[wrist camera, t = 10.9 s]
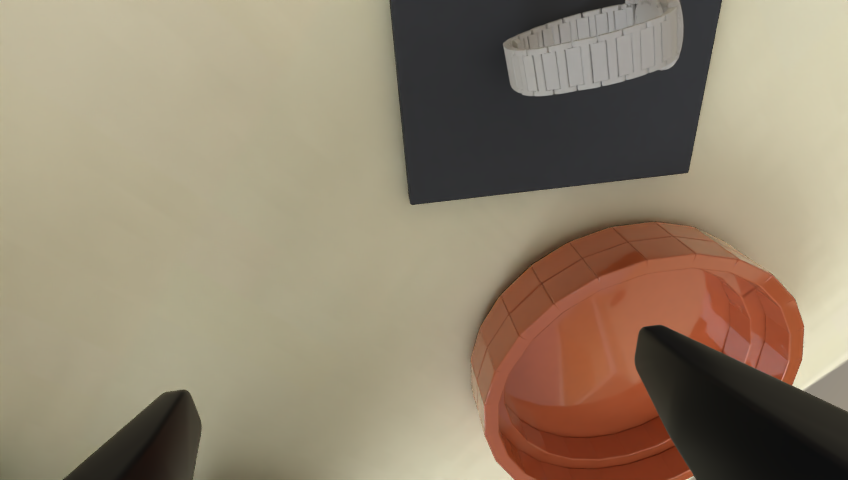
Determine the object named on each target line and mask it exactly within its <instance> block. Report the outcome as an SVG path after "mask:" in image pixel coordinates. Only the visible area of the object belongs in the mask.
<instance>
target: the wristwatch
mask: <svg viewBox="0 0 848 480" xmlns="http://www.w3.org/2000/svg"><path fill="white" fill-rule="evenodd" d="M635 4H637V5H636V7H635ZM582 15H583V17H582V18H581V13H579V14H575V15H572V16H568V17H565V18H563V22H562V19H559V20H555V21H552V22H549V23H546V24H545V25H541V26H538V27H535V28H533V29H531V30H528V31H525V32H523V33H521V34H518V35H516V36H514V37H511V38H510V39H508V40H506V42H504V43H503V47H504V52H505V58H506V63H507V69H508V74H509V80H510V85H511V87H512V88H513V89H514V90H515V91H516V92H518V93H522V95H526V96H548V95H553V94H554V92H555V94H563V93H568V92H573V91H577V87H578V90H586V89H592V88H597V87H601V81H602V86H607V85H611V84H615V83H619V82H623V81H625V79H626V80H629V79H633V78H636V77H639V76H643V75H646V74H647V73H651V72H654V71H656V70H667V69H669V68H671V67H672V66H673V65H674V64H675V63H676V61H677V60H678V58H679V55H680V53H681V50H682V47H683V42H684V33H685V24H684V14H683V8H682V4H681V1H680V0H625V3H624V4H622V5H614V6H609V7H604V8H602V13H601V8H600V9H595V10H591V11H587V12H583V13H582ZM588 19H589V23H588ZM576 20H577V22H576ZM577 28H578V31H577ZM589 29H590V33H589ZM578 38H579V40H578ZM591 59H592V62H591ZM592 69H593V72H592ZM593 80H594V81H593ZM569 84H570V85H569Z"/></svg>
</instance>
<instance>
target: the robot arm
mask: <svg viewBox="0 0 848 480" xmlns="http://www.w3.org/2000/svg"><path fill="white" fill-rule="evenodd" d="M634 361H635V367H636V370H637V372H638V374H639V376H640V378H641V380H642V382H643V384H644V386H645V388H646V390H647V392H648V394H649V396H650V398H651V400H652V402H653V404H654V406H655V408H656V411H657V413H658V415H659V417H660V419H661V421H662V423H663V425H664V427H665V429H666V431H667V432H668V434H669V436H670V438H671V440H672V441H673V443H674V445H675V446H676V448H677V450H678V451H679V453H680V454H681V456H682V458H683V459H684V461H685V462H686V464H687V466H688V467H689V469H690V470H691V472H692V474H693V475H694V477H695V478H696V480H848V412H847V411H845V410H843V409H841V408H838V407H836V406H834V405H832V404H830V403H828V402H826V401H823V400H822V399H819V398H817V397H815V396H813V395H811V394H809V393H807V392H804V391H802V390H800V389H798V388H796V387H794V386H792V385H790V384H787V383H785V382H783V381H781V380H779V379H777V378H775V377H772V376H770V375H768V374H766V373H764V372H762V371H760V370H758V369H755V368H753V367H751V366H749V365H747V364H745V363H743V362H740V361H738V360H736V359H734V358H732V357H730V356H728V355H725V354H723V353H721V352H719V351H717V350H715V349H713V348H711V347H708V346H706V345H704V344H702V343H700V342H698V341H696V340H693V339H691V338H689V337H687V336H685V335H683V334H681V333H678V332H676V331H674V330H672V329H670V328H668V327H666V326H663V325H653V326H645V327H643V328H641V329H640V331H639V334H638V340H637V345H636V351H635V358H634ZM200 437H201V420H200V417H199V415H198V412H197V409H196V407H195V404H194V402H193V399H192V397H191V395H190V393H189V392H188V391H187V390H177V391H170V392H165V393H163V394H162V395H160V396H159V397H158V398H157V399H156V400H154V401H153V402H152V403H151V404H150V405H149V406H147V407H146V408H145V409H144V410H143V411H142V412H141V413H139V414H138V415H137V416H136V417H135V418H134V419H132V420H131V421H130V422H129V423H128V424H127V425H125V426H124V427H123V428H122V429H121V430H120V431H119V432H117V433H116V434H115V435H114V436H113V437H112V438H110V439H109V440H108V441H107V442H106V443H105V444H103V445H102V446H101V447H100V448H99V449H98V450H97V451H95V452H94V453H93V454H92V455H91V456H90V457H88V458H87V459H86V460H85V461H84V462H83V463H81V464H80V465H79V466H78V467H77V468H76V469H75V470H73V471H72V472H71V473H70V474H69V475H68V476H66V477H65V478H64V479H63V480H193V475H194V469H195V464H196V458H197V453H198V447H199V442H200Z"/></svg>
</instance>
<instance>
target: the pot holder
mask: <svg viewBox="0 0 848 480" xmlns="http://www.w3.org/2000/svg"><path fill="white" fill-rule="evenodd" d="M680 1H681V4H682V8H683V14H684V24H685V33H684V42H683V47H682V50H681V53H680V55H679V58H678V60H677V61H676V63H675V64H674V65H673V66H672V67H671V68H669V69H667V70H656V71H654V72H651V73H647V74H646V75H643V76H639V77H636V78H633V79H629V80H626V79H625V81H623V82H619V83H615V84H611V85H607V86H602V81H601V87H597V88H592V89H586V90H578V87H577V91H573V92H568V93H563V94H555V92H554V94H553V95H548V96H526V95H522V93H518V92H516V91H515V90H514V89H513V88H512V87H511V85H510V80H509V74H508V69H507V63H506V58H505V52H504V47H503V43H504V42H506V40H508V39H510V38H511V37H514V36H516V35H518V34H521V33H523V32H525V31H528V30H531V29H533V28H535V27H538V26H541V25H545V24H546V23H549V22H552V21H555V20H559V19H562V22H563V18H565V17H568V16H572V15H575V14H579V13H581V18H582V17H583V15H582V13H583V12H587V11H591V10H595V9H600V8H601V13H602V8H604V7H609V6H614V5H622V4H624V3H625V0H390V10H391V20H392V30H393V41H394V51H395V61H396V71H397V81H398V92H399V102H400V112H401V122H402V132H403V143H404V153H405V163H406V173H407V183H408V194H409V200H410V204H411V205H415V204H424V203H432V202H441V201H450V200H458V199H467V198H476V197H484V196H493V195H501V194H510V193H519V192H527V191H536V190H544V189H553V188H562V187H570V186H579V185H588V184H596V183H605V182H613V181H622V180H631V179H639V178H648V177H657V176H665V175H674V174H682V173H688V171H689V166H690V161H691V156H692V151H693V146H694V141H695V136H696V131H697V126H698V120H699V115H700V110H701V105H702V100H703V95H704V90H705V85H706V80H707V74H708V69H709V64H710V59H711V54H712V49H713V44H714V39H715V34H716V28H717V23H718V18H719V13H720V8H721V3H722V0H680ZM636 5H637V4H635V7H636ZM576 22H577V20H576ZM588 23H589V19H588ZM577 31H578V28H577ZM589 33H590V29H589ZM578 40H579V38H578ZM591 62H592V59H591ZM592 72H593V69H592ZM593 81H594V80H593ZM569 85H570V84H569Z"/></svg>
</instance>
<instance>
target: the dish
mask: <svg viewBox="0 0 848 480" xmlns="http://www.w3.org/2000/svg"><path fill="white" fill-rule="evenodd" d="M653 325H663V326H666V327H668V328H670V329H672V330H674V331H676V332H678V333H681V334H683V335H685V336H687V337H689V338H691V339H693V340H696V341H698V342H700V343H702V344H704V345H706V346H708V347H711V348H713V349H715V350H717V351H719V352H721V353H723V354H725V355H728V356H730V357H732V358H734V359H736V360H738V361H740V362H743V363H745V364H747V365H749V366H751V367H753V368H755V369H758V370H760V371H762V372H764V373H766V374H768V375H770V376H772V377H775V378H777V379H779V380H781V381H783V382H785V383H787V384H790V385H792V384H793V382H794V379H795V377H796V374H797V372H798V369H799V366H800V364H801V361H802V354H803V338H804V324H803V321H802V318H801V315H800V312H799V309H798V306H797V303H796V300H795V298H794V297H793V296H792V295H791V294H790V293H789V291H788V290H787V289H786V288H785V287H784V286H783V285H782V284H781V283H780V282H779V281H778V280H777V279H776V278H775V276H774V275H773V274H771V273H770V272H768V271H767V270H765V269H764V268H762V267H761V266H760V265H758V264H757V263H755V262H754V261H752V260H751V259H749V258H748V257H746V256H745V255H744V254H742V253H741V252H739V251H738V250H736V249H735V248H733V247H732V246H730V245H729V244H727V243H726V242H724V241H723V240H721V239H718V238H716V237H714V236H712V235H710V234H708V233H706V232H704V231H702V230H699V229H697V228H695V227H691V226H684V225H676V224H669V223H662V222H646V223H638V224H630V225H622V226H614V227H609V228H606V229H603V230H600V231H598V232H595V233H592V234H589V235H586V236H584V237H581V238H578V239H575V240H573V241H570V242H568V243H566V244H564V245H563V246H561V247H559V248H558V249H556V250H555V251H553V252H551V253H550V254H548V255H547V256H545V257H543V258H542V259H540V260H539V261H537V262H535V263H534V264H532V265H531V267H529V268H528V269H527V270H526V271H525V272H524V273H523V274H522V275H521V276H520V277H519V278H518V279H517V280H515V281H514V282H513V283H512V284H511V285H510V286H509V287H508V288H507V289H506V290H505V291H504V292H503V293H502V294H501V295H500V296H499V297H498V299H497V301H496V302H495V304H494V305H493V307H492V309H491V310H490V312H489V313H488V315H487V317H486V318H485V320H484V321H483V323H482V325H481V326H480V329H479V332H478V336H477V339H476V342H475V346H474V349H473V353H472V356H471V386H472V391H473V395H474V399H475V402H476V406H477V410H478V413H479V417H480V420H481V424H482V428H483V431H484V435H485V437H486V440H487V442H488V444H489V447H490V449H491V451H492V454H493V456H494V458H495V460H496V462H497V463H498V464H499V465H500V466H501V467H502V468H503V469H504V470H505V471H506V472H507V473H508V474H509V475H510V476H511V477H512V478H513V479H514V480H686V479H688V478H690V477H692V476H694V475H693V474H692V472H691V470H690V469H689V467H688V466H687V464H686V462H685V461H684V459H683V458H682V456H681V454H680V453H679V451H678V450H677V448H676V446H675V445H674V443H673V441H672V440H671V438H670V436H669V434H668V432H667V431H666V429H665V427H664V425H663V423H662V421H661V419H660V417H659V415H658V413H657V411H656V408H655V406H654V404H653V402H652V400H651V398H650V396H649V394H648V392H647V390H646V388H645V386H644V384H643V382H642V380H641V378H640V376H639V374H638V372H637V370H636V367H635V361H634V358H635V351H636V345H637V340H638V334H639V331H640V329H641V328H643V327H645V326H653Z"/></svg>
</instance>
